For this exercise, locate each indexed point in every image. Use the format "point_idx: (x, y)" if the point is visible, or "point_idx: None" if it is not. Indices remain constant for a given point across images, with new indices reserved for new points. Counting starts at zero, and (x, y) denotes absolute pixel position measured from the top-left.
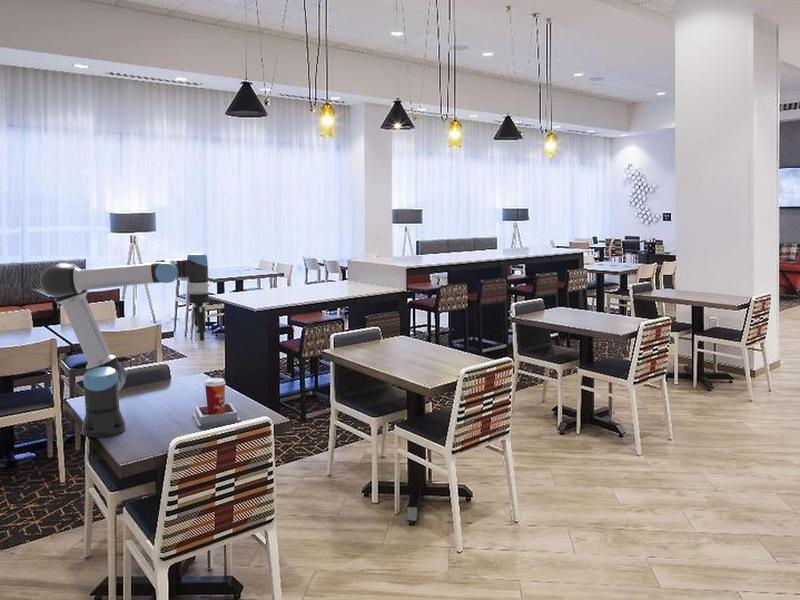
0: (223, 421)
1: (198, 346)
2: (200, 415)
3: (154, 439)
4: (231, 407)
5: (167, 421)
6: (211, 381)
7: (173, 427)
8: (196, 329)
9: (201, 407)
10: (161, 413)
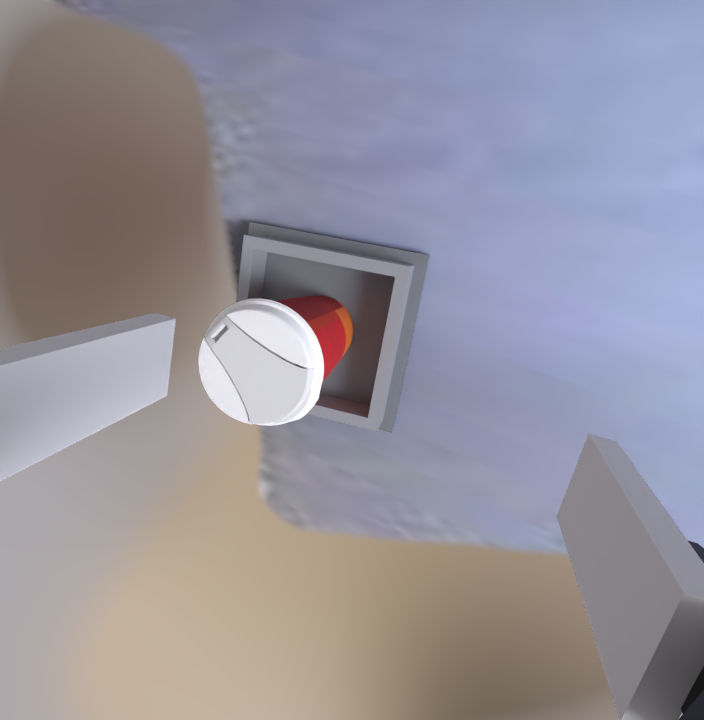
0: None
1: (137, 318)
2: (262, 241)
3: (209, 7)
4: None
5: (421, 122)
6: (230, 338)
7: (319, 125)
8: (641, 576)
9: (393, 292)
10: (576, 126)
